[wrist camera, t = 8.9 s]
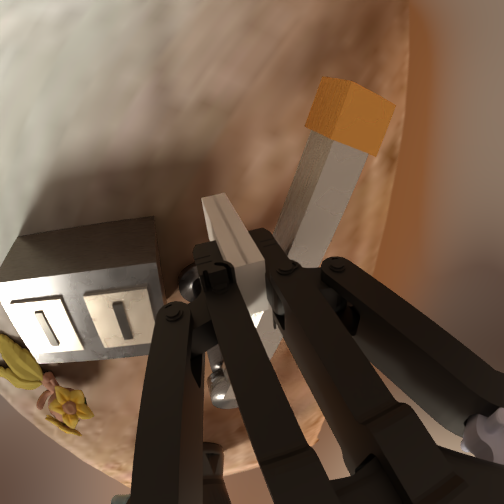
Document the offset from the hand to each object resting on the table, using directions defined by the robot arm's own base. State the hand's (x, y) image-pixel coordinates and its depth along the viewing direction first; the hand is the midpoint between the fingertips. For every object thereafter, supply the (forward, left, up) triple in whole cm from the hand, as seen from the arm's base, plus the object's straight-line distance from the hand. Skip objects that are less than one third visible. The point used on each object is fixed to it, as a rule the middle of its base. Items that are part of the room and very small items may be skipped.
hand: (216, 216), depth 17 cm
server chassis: (-9, +11, -9) cm, 17 cm away
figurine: (-25, +25, -10) cm, 36 cm away
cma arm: (-3, -3, +2) cm, 5 cm away
